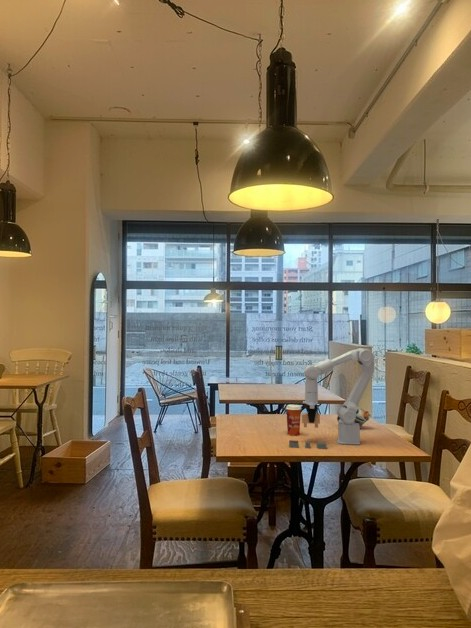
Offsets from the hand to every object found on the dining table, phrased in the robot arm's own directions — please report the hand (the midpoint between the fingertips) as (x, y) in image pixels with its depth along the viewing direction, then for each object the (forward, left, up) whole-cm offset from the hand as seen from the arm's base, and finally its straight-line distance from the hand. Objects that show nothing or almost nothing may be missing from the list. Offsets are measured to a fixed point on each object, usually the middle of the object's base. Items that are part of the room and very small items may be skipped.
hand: (311, 421), depth 199 cm
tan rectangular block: (0, 0, -3) cm, 3 cm away
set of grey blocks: (+2, +9, -9) cm, 13 cm away
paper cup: (+8, -13, -9) cm, 18 cm away
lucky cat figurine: (-23, -34, -9) cm, 42 cm away
